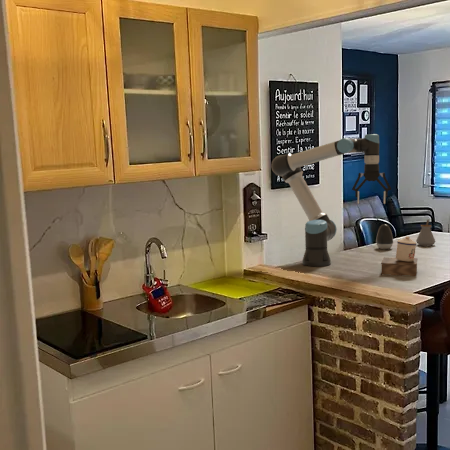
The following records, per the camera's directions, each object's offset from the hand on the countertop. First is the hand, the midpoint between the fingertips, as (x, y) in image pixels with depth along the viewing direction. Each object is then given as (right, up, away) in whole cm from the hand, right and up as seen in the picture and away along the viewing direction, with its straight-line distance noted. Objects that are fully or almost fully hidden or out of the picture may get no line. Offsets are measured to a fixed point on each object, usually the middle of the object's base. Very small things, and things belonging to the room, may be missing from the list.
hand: (371, 203), depth 313 cm
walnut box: (+8, -35, -23) cm, 43 cm away
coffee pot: (+50, -24, +61) cm, 83 cm away
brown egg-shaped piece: (+20, -26, +49) cm, 59 cm away
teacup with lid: (+11, -29, -24) cm, 39 cm away
